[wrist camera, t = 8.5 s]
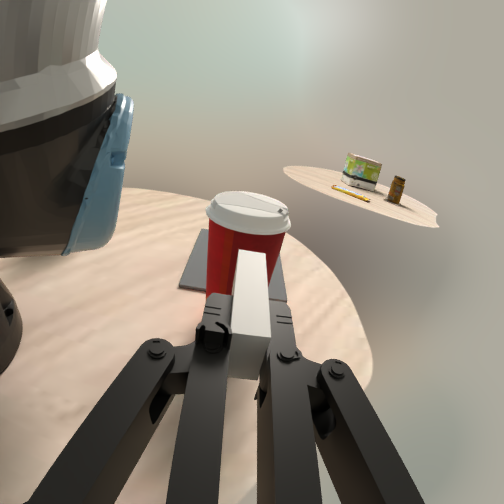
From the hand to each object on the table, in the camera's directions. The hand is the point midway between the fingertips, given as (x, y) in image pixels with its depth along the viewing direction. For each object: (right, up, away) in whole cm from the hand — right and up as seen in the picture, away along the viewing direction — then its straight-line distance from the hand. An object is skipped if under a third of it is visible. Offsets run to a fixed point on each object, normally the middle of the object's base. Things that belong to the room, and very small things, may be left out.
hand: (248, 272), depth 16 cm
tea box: (+51, +33, +111) cm, 127 cm away
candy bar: (+39, +23, +89) cm, 100 cm away
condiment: (+63, +23, +97) cm, 117 cm away
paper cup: (-2, -7, +15) cm, 17 cm away
